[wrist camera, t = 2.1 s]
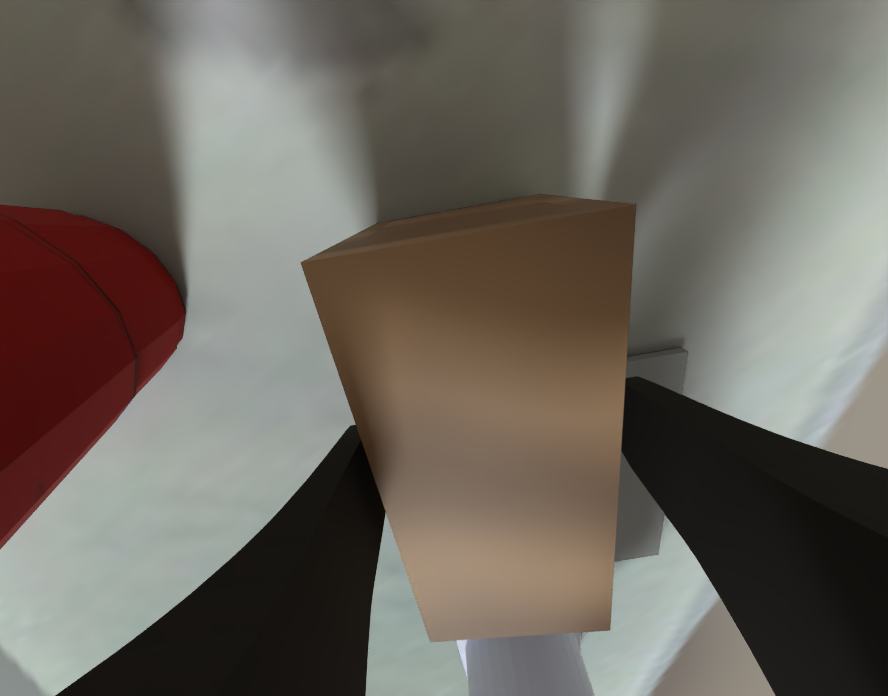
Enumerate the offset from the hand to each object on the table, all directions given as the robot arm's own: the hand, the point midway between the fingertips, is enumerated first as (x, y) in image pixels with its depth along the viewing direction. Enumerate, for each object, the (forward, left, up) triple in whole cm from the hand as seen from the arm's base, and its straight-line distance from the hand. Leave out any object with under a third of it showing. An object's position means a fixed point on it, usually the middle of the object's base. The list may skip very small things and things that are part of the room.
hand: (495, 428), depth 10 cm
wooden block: (0, 0, -4) cm, 4 cm away
